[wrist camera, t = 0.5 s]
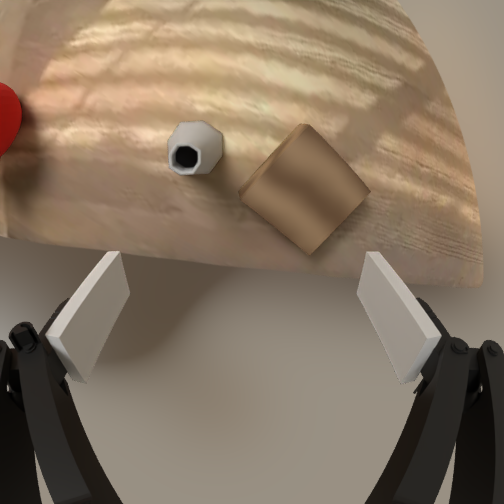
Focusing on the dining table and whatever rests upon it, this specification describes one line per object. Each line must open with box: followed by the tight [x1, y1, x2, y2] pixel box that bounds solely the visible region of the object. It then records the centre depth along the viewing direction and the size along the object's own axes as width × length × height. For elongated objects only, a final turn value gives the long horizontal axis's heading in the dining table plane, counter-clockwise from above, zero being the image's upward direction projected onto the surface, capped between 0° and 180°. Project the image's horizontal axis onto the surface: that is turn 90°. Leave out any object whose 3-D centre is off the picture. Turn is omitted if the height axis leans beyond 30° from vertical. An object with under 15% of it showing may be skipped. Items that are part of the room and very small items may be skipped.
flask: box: [168, 121, 222, 175], centre depth 28 cm, size 7×7×10 cm
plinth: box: [239, 124, 371, 256], centre depth 34 cm, size 12×12×4 cm
